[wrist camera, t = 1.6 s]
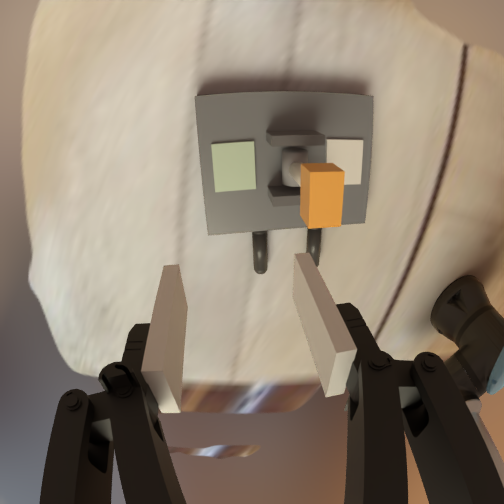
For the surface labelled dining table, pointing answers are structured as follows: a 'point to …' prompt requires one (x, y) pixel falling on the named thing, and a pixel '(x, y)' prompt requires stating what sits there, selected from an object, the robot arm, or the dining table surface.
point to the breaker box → (279, 159)
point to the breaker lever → (315, 188)
